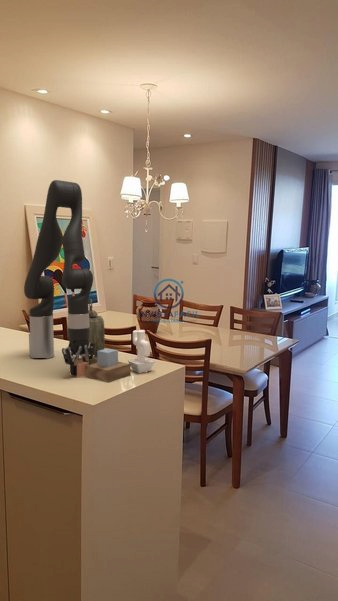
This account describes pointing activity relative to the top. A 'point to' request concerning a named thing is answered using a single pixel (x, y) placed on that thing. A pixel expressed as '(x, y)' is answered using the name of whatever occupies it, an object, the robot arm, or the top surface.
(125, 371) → the plinth
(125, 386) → the top surface
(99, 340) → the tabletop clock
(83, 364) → the terracotta block
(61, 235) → the robot arm
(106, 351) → the blue block
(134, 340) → the figurine
